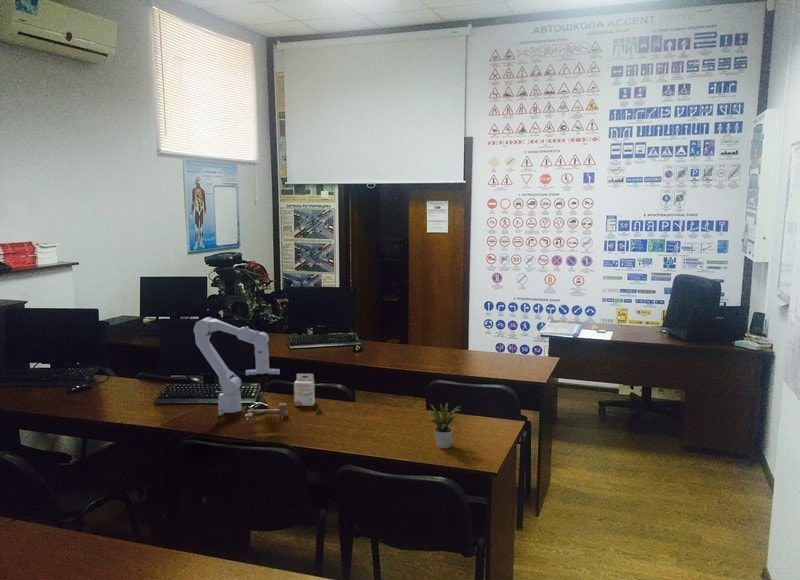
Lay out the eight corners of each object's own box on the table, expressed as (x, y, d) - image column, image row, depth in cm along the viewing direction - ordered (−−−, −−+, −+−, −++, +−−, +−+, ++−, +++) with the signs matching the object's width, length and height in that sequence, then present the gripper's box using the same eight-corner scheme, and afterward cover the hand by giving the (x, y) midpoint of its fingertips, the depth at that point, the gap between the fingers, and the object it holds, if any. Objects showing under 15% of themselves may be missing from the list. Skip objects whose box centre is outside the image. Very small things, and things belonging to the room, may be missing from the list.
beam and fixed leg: (243, 420, 262) (243, 417, 261) (248, 413, 271) (247, 409, 271) (283, 419, 262) (283, 416, 262) (287, 412, 272) (287, 408, 272)
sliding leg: (278, 418, 262) (277, 407, 261) (281, 411, 272) (281, 400, 271) (285, 418, 262) (284, 407, 262) (288, 411, 272) (288, 400, 271)
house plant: (467, 453, 224) (467, 408, 222) (429, 454, 222) (428, 410, 221) (460, 439, 238) (460, 397, 236) (424, 440, 237) (424, 398, 235)
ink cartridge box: (294, 408, 280) (292, 376, 279) (297, 404, 285) (295, 373, 284) (312, 408, 280) (311, 376, 278) (315, 404, 285) (314, 373, 283)
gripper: (243, 362, 268) (245, 393, 270) (277, 361, 268) (278, 392, 270) (246, 359, 275) (248, 389, 277) (279, 358, 275) (281, 388, 277)
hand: (263, 390), depth 274 cm, fingers closed
